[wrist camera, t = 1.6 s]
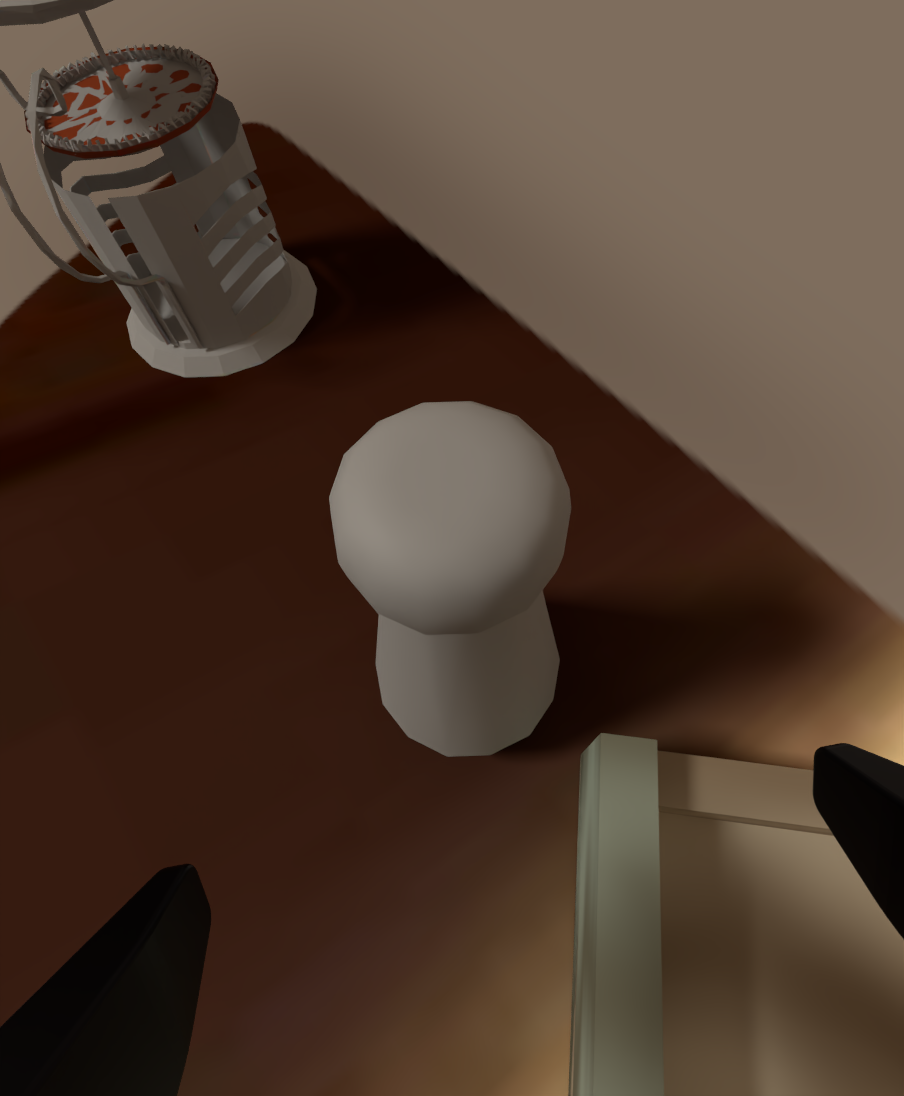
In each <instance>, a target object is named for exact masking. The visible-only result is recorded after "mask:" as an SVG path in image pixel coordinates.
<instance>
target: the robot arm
mask: <svg viewBox="0 0 904 1096" xmlns="http://www.w3.org/2000/svg"><path fill="white" fill-rule="evenodd" d="M812 792H813V799H814V803H815V806H816V808H817V810H818V812H819V813H820V815H821V817H822V818H823V820H824V821H825V823H826V824H827V826H828V827H829V829H830V831H831V832H832V834H833V835H834V837H835V838H836V840H837V842H838V843H839V845H840V846H841V848H842V849H843V851H844V853H845V854H846V856H847V857H848V859H849V860H850V862H851V863H852V865H853V867H854V868H855V870H856V871H857V873H858V874H859V876H860V878H861V879H862V881H863V882H864V884H865V885H866V887H867V888H868V890H869V892H870V893H871V895H872V896H873V898H874V899H875V901H876V902H877V904H878V905H879V907H880V908H881V910H882V911H883V913H884V914H885V916H886V917H887V918H888V920H889V921H890V922H891V924H892V925H893V926H894V928H895V929H896V930H897V932H898V933H899V934H900V936H901V937H902V938H903V940H904V766H903V765H900V764H898V763H895V762H893V761H890V760H888V759H885V758H883V757H880V756H878V755H875V754H873V753H870V752H868V751H866V750H863V749H861V748H858V747H856V746H853V745H850V744H846V743H840V744H835V745H829V746H824V747H820V748H818V749H817V750H816V752H815V754H814V769H813V791H812ZM210 926H211V910H210V906H209V902H208V900H207V897H206V894H205V892H204V889H203V886H202V883H201V881H200V878H199V875H198V872H197V870H196V868H195V867H194V866H193V865H191V864H183V865H177V866H172V867H167V868H164V869H162V870H160V871H159V872H158V873H156V874H155V875H154V876H153V877H152V878H151V879H150V880H149V881H148V882H147V883H146V884H145V885H144V886H143V887H142V888H141V889H140V890H139V891H138V892H137V893H136V894H135V895H134V896H133V897H132V898H131V899H130V900H129V901H128V902H127V903H126V904H125V905H124V906H123V907H122V908H121V909H120V910H119V911H118V912H117V913H116V914H115V915H114V916H113V917H112V918H111V919H110V920H109V921H108V922H107V923H106V924H105V925H104V926H103V927H102V928H101V929H100V930H98V931H97V932H96V933H95V934H94V935H93V936H92V937H91V938H90V939H89V940H88V941H87V942H86V943H85V944H84V945H83V946H82V947H81V948H80V949H79V950H78V951H77V952H76V953H75V954H74V955H73V956H72V957H71V958H70V959H69V960H68V961H67V962H66V963H65V964H64V965H63V966H62V967H61V968H60V969H59V970H58V971H57V972H56V973H55V974H54V975H53V976H52V977H51V978H50V979H49V980H48V981H47V982H46V983H45V984H44V985H43V986H42V987H41V988H40V989H39V990H38V991H37V992H36V993H35V994H34V995H33V996H32V997H30V998H29V999H28V1000H27V1001H26V1002H25V1003H24V1004H23V1005H22V1006H21V1007H20V1008H19V1009H18V1010H17V1011H16V1012H15V1013H14V1014H13V1015H12V1016H11V1017H10V1018H9V1019H8V1020H7V1021H6V1022H5V1023H4V1024H3V1025H2V1026H1V1027H0V1096H177V1093H178V1090H179V1086H180V1082H181V1079H182V1075H183V1071H184V1067H185V1063H186V1059H187V1055H188V1051H189V1046H190V1041H191V1036H192V1030H193V1025H194V1019H195V1013H196V1008H197V1002H198V996H199V990H200V984H201V979H202V973H203V967H204V961H205V955H206V950H207V944H208V938H209V932H210Z"/></svg>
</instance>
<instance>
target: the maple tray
mask: <svg viewBox="0 0 904 1096" xmlns="http://www.w3.org/2000/svg"><path fill="white" fill-rule="evenodd" d="M812 791H813V770H806V769H799V768H791V767H783V766H775V765H767V764H759V763H751V762H744V761H736V760H728V759H720V758H712V757H704V756H696V755H689V754H681V753H673V752H665V751H657V740H653V739H645V738H637V737H629V736H621V735H613V734H605V733H601V734H600V735H599V736H598V737H597V738H596V739H595V740H594V741H593V742H592V743H591V744H590V745H589V746H588V748H587V749H586V750H585V751H584V752H583V753H582V754H581V759H580V787H579V815H578V843H577V871H576V899H575V928H574V956H573V984H572V1012H571V1040H570V1068H569V1096H904V940H903V938H902V937H901V936H900V934H899V933H898V932H897V930H896V929H895V928H894V926H893V925H892V924H891V922H890V921H889V920H888V918H887V917H886V916H885V914H884V913H883V911H882V910H881V908H880V907H879V905H878V904H877V902H876V901H875V899H874V898H873V896H872V895H871V893H870V892H869V890H868V888H867V887H866V885H865V884H864V882H863V881H862V879H861V878H860V876H859V874H858V873H857V871H856V870H855V868H854V867H853V865H852V863H851V862H850V860H849V859H848V857H847V856H846V854H845V853H844V851H843V849H842V848H841V846H840V845H839V843H838V842H837V840H836V838H835V837H834V835H833V834H832V832H831V831H830V829H829V827H828V826H827V824H826V823H825V821H824V820H823V818H822V817H821V815H820V813H819V812H818V810H817V808H816V806H815V803H814V799H813V792H812Z"/></svg>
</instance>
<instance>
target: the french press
mask: <svg viewBox="0 0 904 1096" xmlns="http://www.w3.org/2000/svg"><path fill="white" fill-rule="evenodd" d="M111 1H113V0H0V26H7V25H25V24H43V23H46V22H49V21H53V20H56V19H59V18H63V17H66V16H70V15H73V14H77V13H79V14H80V17H81V19H82V21H83V23H84V25H85V27H86V29H87V31H88V33H89V35H90V37H91V39H92V42H93V44H94V46H95V48H96V50H97V52H98V54H99V56H96V55H95V54H94V53H93V52H92V53H90V54H91V58H90V59H88V58H87V57H84V58H83V62H81V61H78V60H77V61H76V63H75V65H73V64H71V63H69V65H68V67H67V68H65V66H63V67H62V68H61V69H59V71H60V72H59V71H57V70H56V71H55V72H54V73H53V75H54V76H52V75H50V74H49V73H48V72H47V71H46V70H45V69H44V68H42V69H40V70H38V71H36V72H34V73H32V77H31V85H30V92H29V101H28V102H26V101H25V100H24V99H23V98H22V97H21V96H20V95H19V93H18V92H17V91H16V89H15V88H14V86H13V85H12V83H11V82H10V81H9V79H8V78H7V76H6V75H5V73H4V72H3V71H1V70H0V80H1V81H2V83H3V84H4V86H5V87H6V89H7V91H8V92H9V94H10V95H11V96H12V97H13V98H14V99H15V100H16V101H17V102H18V104H20V105H21V107H22V108H23V109H24V110H25V111H24V114H25V121H26V129H27V131H28V132H29V133H30V134H31V137H32V142H33V147H34V152H35V158H36V164H37V169H38V172H39V175H40V177H41V180H42V182H43V184H44V187H45V189H46V191H47V194H48V196H49V199H50V201H51V204H52V206H53V208H54V211H55V213H56V215H57V217H58V218H59V220H60V221H61V223H62V224H63V226H64V227H65V229H66V230H67V232H68V233H69V235H70V236H71V238H72V239H73V241H74V242H75V244H76V245H77V247H78V248H79V250H80V252H81V253H82V255H83V256H85V257H86V258H87V259H88V260H89V261H90V262H91V263H92V264H94V265H95V266H96V267H97V268H98V269H99V270H100V271H101V272H103V273H104V274H105V275H101V276H98V277H95V276H90V275H85V274H80V273H79V272H77V271H76V270H75V269H74V268H72V267H71V266H70V265H68V264H67V263H66V262H64V261H63V260H62V259H60V258H59V257H58V256H56V255H55V254H54V253H53V251H52V250H51V249H50V248H49V246H48V245H47V244H46V242H45V241H44V240H43V239H42V238H41V236H40V235H39V234H38V232H37V231H36V230H35V228H34V227H33V226H32V225H31V223H30V222H29V221H28V220H27V218H26V217H25V216H24V215H23V213H22V212H21V211H20V208H19V206H18V204H17V202H16V200H15V198H14V196H13V193H12V191H11V189H10V187H9V185H8V183H7V181H6V178H5V175H4V172H3V169H2V166H1V164H0V186H1V189H2V191H3V193H4V196H5V198H6V200H7V202H8V204H9V207H10V209H11V211H12V212H13V213H14V215H15V216H16V217H17V219H18V220H19V221H20V223H21V224H22V225H23V227H24V228H25V230H26V231H27V232H28V234H29V235H30V236H31V238H32V239H33V240H34V242H35V243H36V244H37V246H38V247H39V248H40V249H41V251H42V252H43V253H44V254H45V255H47V256H48V257H49V258H50V259H51V260H52V261H53V262H54V263H55V264H56V265H57V266H58V267H59V268H61V269H62V270H64V271H66V272H67V273H69V274H71V275H73V276H74V277H76V278H78V279H79V280H81V281H87V282H94V283H103V282H106V281H109V280H113V281H115V283H116V284H117V286H118V287H119V289H120V290H121V292H122V293H123V295H124V296H125V298H126V300H127V301H128V303H129V304H130V306H131V307H132V309H131V312H130V314H129V317H128V320H127V326H128V331H129V335H130V340H131V345H132V348H133V349H134V350H135V351H136V352H137V353H138V354H139V355H140V356H141V357H142V358H144V359H145V360H146V361H147V362H148V363H149V364H150V365H151V366H152V367H154V368H157V369H160V370H163V371H166V372H170V373H173V374H176V375H179V376H182V377H209V376H226V375H229V374H232V373H235V372H238V371H241V370H244V369H247V368H250V367H253V366H256V365H259V364H262V363H264V362H265V361H267V360H268V359H270V358H271V357H273V356H274V355H276V354H277V353H278V352H280V351H281V350H283V349H284V348H286V347H287V346H289V345H290V344H291V343H293V342H294V341H295V340H296V338H297V337H298V336H299V334H300V333H301V331H302V330H303V329H304V327H305V326H306V324H307V323H308V321H309V320H310V319H311V317H312V316H313V311H314V305H315V298H316V292H317V288H316V286H315V283H314V281H313V279H312V277H311V275H310V272H309V270H308V268H307V266H306V265H304V264H303V263H301V262H300V261H299V260H297V259H296V258H294V257H293V256H292V255H290V254H289V253H288V252H286V251H285V250H283V247H282V243H281V240H280V237H279V235H278V233H277V231H276V229H275V222H274V219H273V217H272V214H271V211H270V209H269V208H268V206H267V204H266V202H265V200H266V199H267V198H266V195H265V192H264V190H263V187H262V184H261V182H260V180H259V179H258V177H257V175H256V174H255V173H254V172H253V170H255V169H257V168H256V165H255V162H254V159H253V156H252V153H251V151H250V148H249V145H248V142H247V139H246V136H245V133H244V130H243V128H242V125H241V122H240V119H239V117H238V115H237V112H236V110H235V108H234V106H233V104H232V102H230V101H229V100H227V99H225V98H223V97H222V96H220V95H218V94H217V93H216V91H217V86H218V78H217V76H216V74H215V71H214V69H213V67H212V65H211V63H210V62H208V61H207V60H205V59H203V58H201V57H200V56H199V55H196V54H194V53H193V52H192V51H190V50H187V49H185V50H183V49H182V48H181V47H179V49H176V48H175V46H172V47H171V48H169V46H168V45H166V44H165V47H162V46H161V45H160V44H159V45H158V46H157V47H154V46H153V45H149V46H150V47H145V46H144V44H143V45H142V48H137V47H136V45H133V46H134V48H128V46H125V47H126V49H123V50H120V49H119V48H117V51H116V52H112V50H108V54H105V53H104V51H103V48H102V47H101V44H100V42H99V40H98V38H97V36H96V34H95V32H94V29H93V27H92V26H91V23H90V21H89V19H88V17H87V15H86V13H85V11H87V10H91V9H94V8H97V7H99V6H101V5H104V4H106V3H108V2H111ZM78 63H79V64H78ZM62 70H63V71H62ZM42 80H45V81H44V83H43V84H42V83H41V82H42ZM41 142H42V143H43V144H44V145H45V148H44V155H43V149H42V143H41ZM158 146H160V147H161V149H162V151H163V153H164V156H163V157H161V158H159V159H157V160H155V161H153V162H152V163H150V164H148V165H146V166H145V167H140V168H136V169H131V170H126V171H122V172H117V173H111V174H101V175H91V176H82V177H81V178H80V179H79V180H78V181H77V182H76V183H75V184H74V185H72V186H71V187H70V191H66V190H64V189H63V188H62V176H61V171H62V170H63V169H65V168H66V167H67V166H68V165H69V164H70V163H72V162H73V161H78V160H92V159H106V158H111V157H121V156H127V155H133V154H138V153H141V152H144V151H147V150H150V149H152V148H155V147H158ZM170 171H172V173H173V175H174V177H175V179H176V181H177V183H176V184H174V185H172V186H170V187H166V188H163V189H159V190H155V191H152V192H148V193H145V194H141V195H138V196H129V197H117V198H108V199H109V201H110V203H108V204H101V205H98V206H97V207H95V206H94V204H93V202H92V201H91V199H90V197H89V196H88V195H89V194H90V193H91V192H94V191H102V190H110V189H119V188H128V187H132V186H136V185H140V184H143V183H147V182H151V181H153V180H155V179H157V178H159V177H161V176H163V175H165V174H167V173H169V172H170ZM247 177H248V178H249V179H250V180H251V181H252V182H253V183H254V184H255V185H256V186H257V188H255V189H253V190H252V189H251V188H250V185H249V182H248V180H247ZM54 187H55V188H54ZM55 189H56V191H57V192H58V194H59V195H60V197H61V198H62V200H63V201H64V203H65V205H66V206H67V208H68V209H69V211H70V212H71V214H72V215H73V217H74V219H75V220H76V222H77V223H78V225H79V226H80V228H81V230H82V231H83V233H84V234H85V236H86V237H87V239H88V241H89V242H90V244H91V245H92V247H93V248H94V250H95V252H96V253H97V255H98V256H99V258H100V259H101V261H102V262H103V263H102V262H101V261H100V260H99V259H98V258H97V257H96V256H95V255H94V254H93V253H92V252H91V251H90V250H89V249H88V248H87V247H86V245H85V244H84V242H83V240H82V239H81V237H80V236H79V234H78V233H77V231H76V230H75V228H74V226H73V225H72V223H71V222H70V221H69V219H68V217H67V216H66V214H65V212H64V211H63V209H62V207H61V204H60V202H59V199H58V196H57V194H56V191H55ZM258 206H260V207H261V208H262V209H263V210H264V211H265V212H266V213H267V214H268V216H266V217H264V218H263V217H262V216H261V215H260V214H259V211H258V208H257V207H258ZM117 217H119V218H120V220H121V222H122V224H123V225H124V227H125V229H123V230H117V231H114V232H113V233H112V234H111V232H110V231H109V229H108V227H107V226H106V224H105V221H106V220H107V219H111V218H117ZM195 224H196V225H197V227H198V229H199V232H196V230H195V228H194V225H195ZM269 232H270V233H271V234H272V235H273V236H274V237H276V238H277V239H278V240H277V241H276V242H274V243H273V242H272V241H271V240H270V239H269V238H268V236H267V234H268V233H269ZM130 242H133V243H134V244H135V246H136V248H137V250H138V251H139V253H135V254H131V255H128V257H127V258H126V257H125V255H124V254H123V252H122V250H121V249H120V247H121V245H122V244H126V243H130Z"/></svg>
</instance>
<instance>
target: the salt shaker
mask: <svg viewBox="0 0 904 1096" xmlns="http://www.w3.org/2000/svg"><path fill="white" fill-rule="evenodd" d="M329 501H330V509H331V518H332V524H333V531H334V538H335V544H336V551H337V557H338V563H339V565H340V566H341V568H342V569H343V571H344V572H345V574H346V575H347V577H348V578H349V579H350V581H351V582H352V583H353V584H354V585H355V587H356V588H357V589H358V590H359V591H360V593H361V594H362V595H363V596H364V597H365V599H366V600H367V601H368V602H369V603H370V605H371V606H372V607H373V608H374V609H375V611H376V612H377V613H378V614H379V621H378V636H377V652H376V668H377V674H378V680H379V685H380V691H381V697H382V702H383V705H384V706H385V707H386V709H387V710H388V711H389V713H390V714H391V715H392V717H393V718H394V719H395V720H396V722H397V723H398V724H399V726H400V727H401V728H402V730H403V731H404V732H405V733H406V735H407V736H408V737H409V738H411V739H413V740H415V741H417V742H419V743H421V744H423V745H425V746H427V747H429V748H431V749H433V750H435V751H437V752H439V753H441V754H443V755H445V756H447V757H448V756H476V755H492V754H494V753H496V752H498V751H500V750H502V749H503V748H505V747H507V746H509V745H511V744H513V743H515V742H517V741H519V740H521V739H523V738H525V737H527V736H529V735H530V734H531V733H532V731H533V730H534V728H535V727H536V725H537V724H538V722H539V721H540V719H541V718H542V716H543V715H544V713H545V712H546V710H547V709H548V707H549V706H550V704H551V703H552V701H553V698H554V692H555V686H556V680H557V674H558V668H559V662H560V658H559V654H558V650H557V647H556V643H555V639H554V635H553V631H552V627H551V623H550V619H549V615H548V611H547V607H546V603H545V599H544V595H543V591H542V590H543V588H544V587H545V586H546V584H547V583H548V582H549V580H550V579H551V578H552V576H553V575H554V574H555V572H556V571H557V569H558V567H559V564H560V562H561V560H562V557H563V554H564V548H565V542H566V536H567V530H568V524H569V518H570V512H571V503H570V493H569V487H568V485H567V483H566V480H565V478H564V475H563V473H562V470H561V468H560V465H559V463H558V460H557V458H556V456H555V453H554V451H553V448H552V446H550V445H549V444H548V443H547V442H546V441H545V440H544V439H543V438H542V437H541V436H539V435H538V434H537V433H536V432H535V431H534V430H533V429H532V428H531V427H529V426H528V425H527V424H526V423H525V422H524V421H523V420H522V419H521V418H519V417H518V416H516V415H513V414H510V413H507V412H504V411H501V410H498V409H494V408H491V407H488V406H485V405H482V404H479V403H476V402H472V401H464V402H432V403H421V404H419V405H416V406H414V407H412V408H409V409H407V410H405V411H402V412H400V413H398V414H395V415H393V416H390V417H388V418H386V419H383V420H381V421H379V422H377V423H376V424H375V425H374V426H373V427H372V428H371V429H370V430H369V431H368V432H367V433H366V434H365V435H364V436H363V437H362V438H361V439H360V440H359V441H358V442H356V443H355V444H354V445H353V446H352V447H351V448H350V449H349V450H348V451H347V452H346V453H345V454H344V456H343V459H342V462H341V465H340V467H339V470H338V473H337V476H336V479H335V482H334V485H333V488H332V490H331V493H330V496H329Z"/></svg>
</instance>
